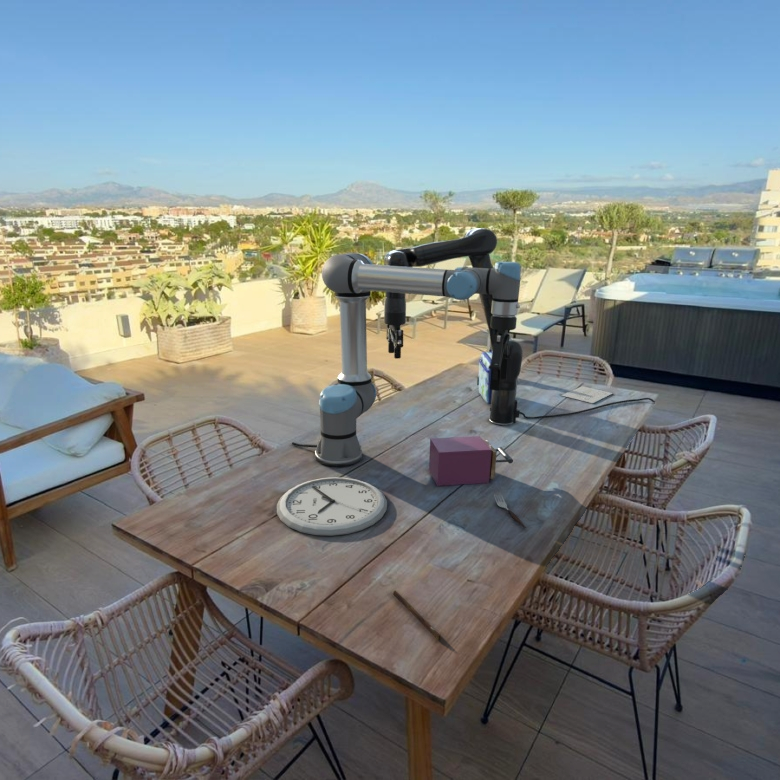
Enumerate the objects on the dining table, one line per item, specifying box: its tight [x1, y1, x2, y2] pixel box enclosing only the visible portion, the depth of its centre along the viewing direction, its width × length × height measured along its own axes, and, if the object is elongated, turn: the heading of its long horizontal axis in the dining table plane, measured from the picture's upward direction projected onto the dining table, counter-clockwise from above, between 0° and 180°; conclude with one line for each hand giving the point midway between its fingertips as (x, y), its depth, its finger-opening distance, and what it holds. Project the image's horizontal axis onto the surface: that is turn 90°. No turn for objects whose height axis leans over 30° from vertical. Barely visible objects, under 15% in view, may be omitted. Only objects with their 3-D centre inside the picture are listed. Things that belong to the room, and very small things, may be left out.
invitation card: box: [560, 385, 613, 404], centre depth 242 cm, size 21×1×15 cm
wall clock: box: [276, 476, 388, 537], centre depth 142 cm, size 30×2×30 cm
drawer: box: [483, 438, 514, 479], centre depth 160 cm, size 20×9×9 cm, turn 100°
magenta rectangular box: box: [428, 435, 492, 487], centre depth 159 cm, size 16×11×11 cm, turn 100°
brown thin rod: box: [392, 590, 441, 641], centre depth 102 cm, size 15×1×1 cm, turn 34°
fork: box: [493, 492, 526, 529], centre depth 140 cm, size 3×16×2 cm, turn 15°
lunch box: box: [476, 350, 498, 406], centre depth 230 cm, size 26×11×21 cm, turn 179°
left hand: (498, 384), depth 161 cm, fingers open, 13 cm apart
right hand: (394, 355), depth 187 cm, fingers open, 8 cm apart
